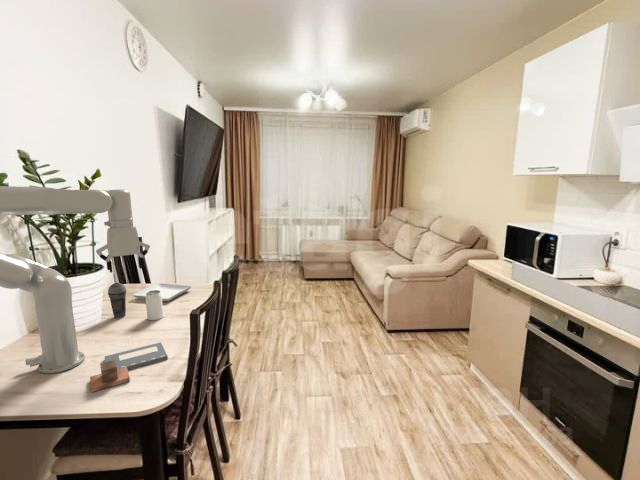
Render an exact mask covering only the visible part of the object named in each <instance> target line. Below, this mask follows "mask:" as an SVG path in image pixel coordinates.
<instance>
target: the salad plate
mask: <svg viewBox="0 0 640 480" xmlns="http://www.w3.org/2000/svg"><path fill="white" fill-rule="evenodd" d="M191 288H192V285H184V284H174V283H163V282H162V283H156V284H154V285H151V286H150V287H147V288H145V289H142V290H140V291H137V292H135V293H133V294H132V297H134V298H136V299H140V300H145V301H146V293H147V292H149V291H153V290H159V291H160V293H161V295H162V302H169V301H171V300H173V299H175V298H176V297H179V296H180V295H182V294H184V293H186V292H188V291H189V290H190V289H191Z"/></svg>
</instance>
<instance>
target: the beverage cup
mask: <svg viewBox="0 0 640 480" xmlns="http://www.w3.org/2000/svg"><path fill="white" fill-rule="evenodd" d="M112 273H113V272H112ZM112 275H113V281H114V283H112V284H111V285H110V286H109V287H108V290H107V295H108V297H109V301H110V305H111V310H112V315H113V317H114V319H122V318H124V317H126V315H127V314H126V312H127V311H126V310H127V309H126V306H127V305H126V304H127V303H126V302H127V301H126V299H127V298H126V296H127V289H126V287H125V285H124V284H123V283H120V282H116V275H115V273H113V274H112Z"/></svg>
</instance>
